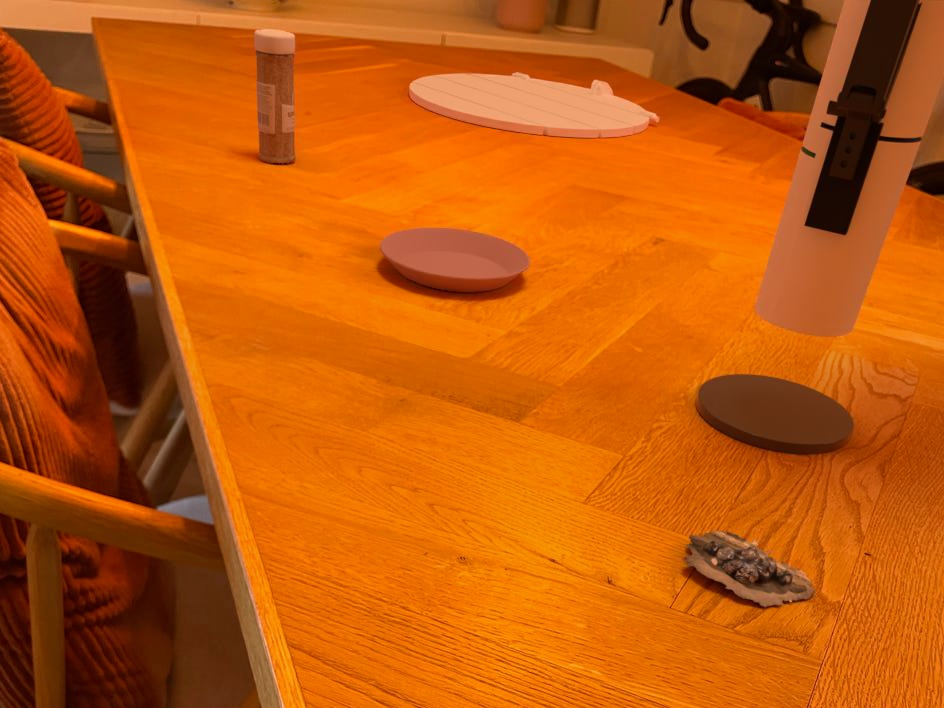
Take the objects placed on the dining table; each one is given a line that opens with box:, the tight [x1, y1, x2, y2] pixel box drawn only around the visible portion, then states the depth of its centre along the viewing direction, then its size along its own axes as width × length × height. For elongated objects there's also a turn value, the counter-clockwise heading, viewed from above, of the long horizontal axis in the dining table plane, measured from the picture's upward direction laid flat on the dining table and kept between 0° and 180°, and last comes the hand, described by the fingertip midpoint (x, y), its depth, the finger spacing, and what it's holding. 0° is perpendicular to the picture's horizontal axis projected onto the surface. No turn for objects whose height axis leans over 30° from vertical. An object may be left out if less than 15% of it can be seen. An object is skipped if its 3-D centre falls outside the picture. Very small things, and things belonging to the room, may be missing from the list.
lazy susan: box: [408, 71, 661, 139], centre depth 160 cm, size 40×39×3 cm
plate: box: [379, 227, 531, 293], centre depth 94 cm, size 14×14×2 cm
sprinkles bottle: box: [253, 28, 297, 165], centre depth 116 cm, size 5×5×14 cm
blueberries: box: [682, 530, 816, 608], centre depth 58 cm, size 7×8×2 cm
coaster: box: [695, 373, 855, 455], centre depth 76 cm, size 12×12×1 cm
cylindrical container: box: [754, 0, 944, 338], centre depth 64 cm, size 7×7×25 cm
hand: (837, 216), depth 67 cm, fingers closed on cylindrical container, 7 cm apart
